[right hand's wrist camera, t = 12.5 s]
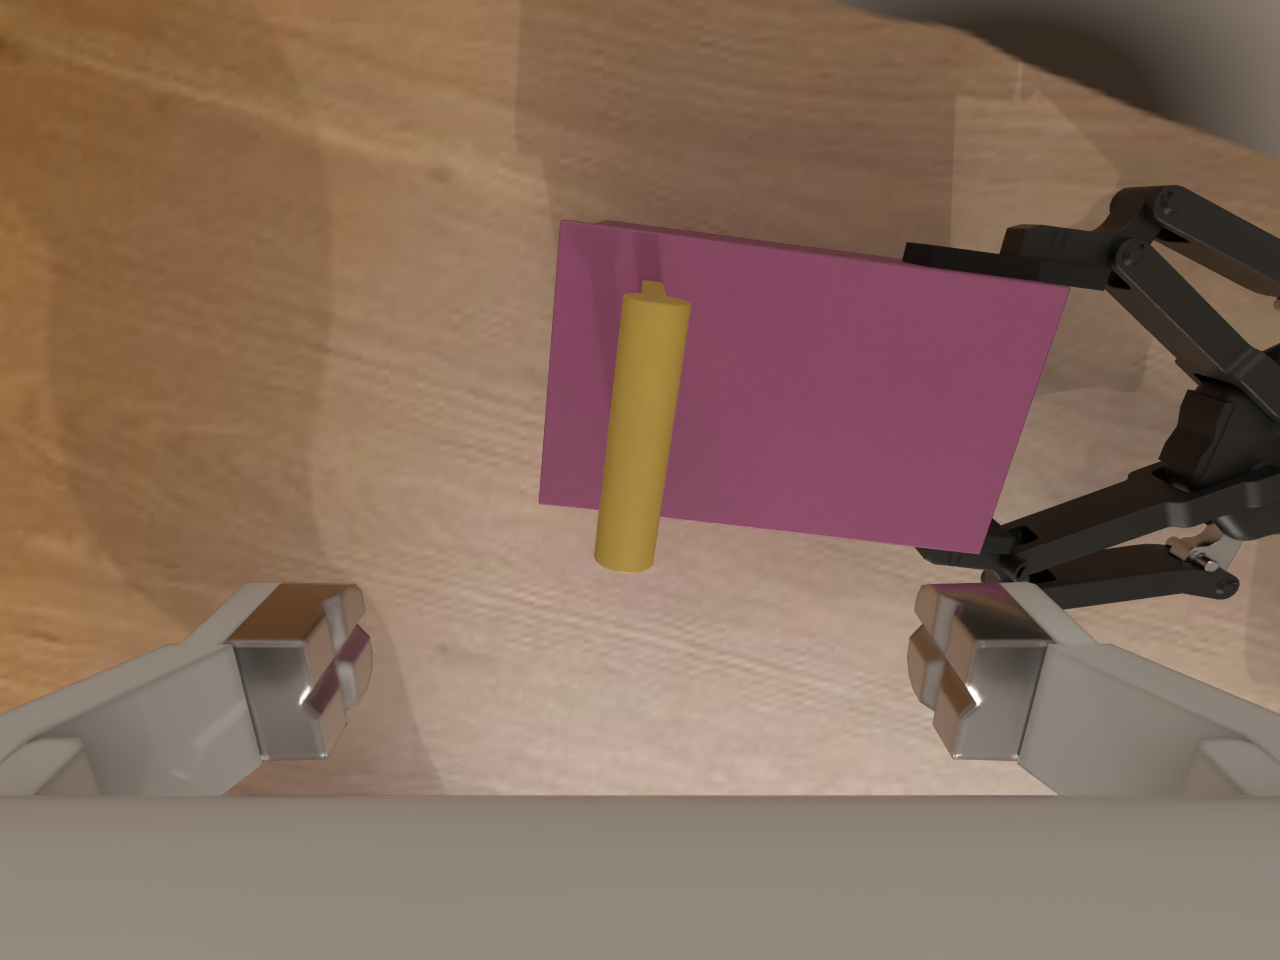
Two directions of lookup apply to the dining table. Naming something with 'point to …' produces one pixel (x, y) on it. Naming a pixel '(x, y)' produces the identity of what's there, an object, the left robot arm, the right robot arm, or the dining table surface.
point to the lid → (783, 391)
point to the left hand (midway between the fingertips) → (881, 394)
